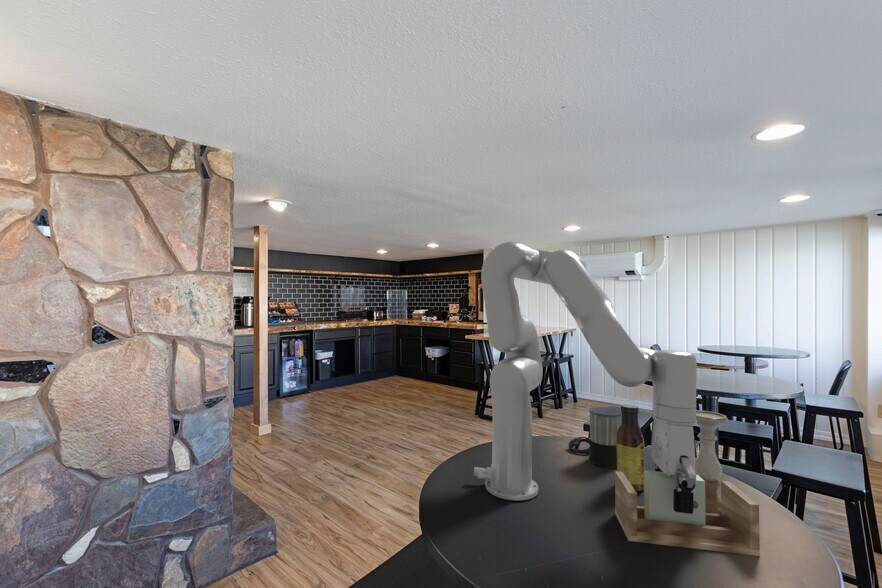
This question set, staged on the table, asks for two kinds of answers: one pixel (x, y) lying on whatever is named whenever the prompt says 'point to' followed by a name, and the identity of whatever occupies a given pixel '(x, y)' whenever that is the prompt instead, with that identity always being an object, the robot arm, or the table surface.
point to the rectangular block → (671, 499)
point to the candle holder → (709, 458)
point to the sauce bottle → (631, 447)
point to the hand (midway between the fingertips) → (672, 499)
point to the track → (720, 532)
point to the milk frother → (601, 437)
